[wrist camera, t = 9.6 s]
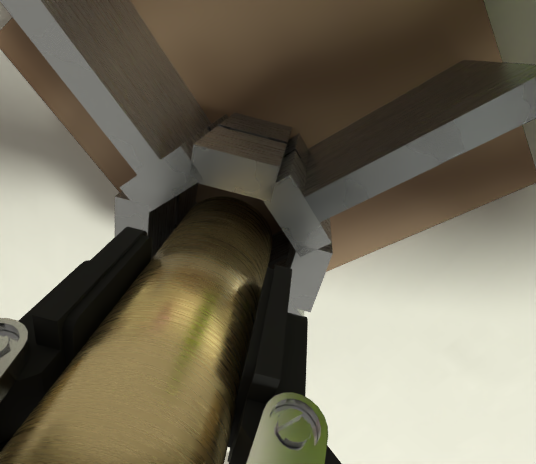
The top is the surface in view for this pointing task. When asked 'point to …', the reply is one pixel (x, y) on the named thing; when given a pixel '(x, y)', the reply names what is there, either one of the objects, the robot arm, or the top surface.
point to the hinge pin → (161, 354)
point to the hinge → (258, 133)
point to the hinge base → (314, 93)
